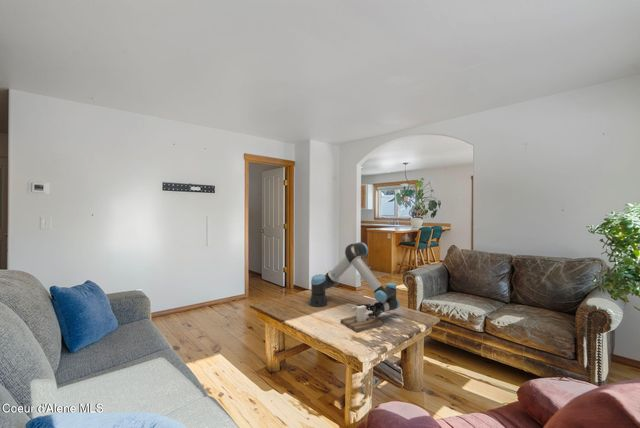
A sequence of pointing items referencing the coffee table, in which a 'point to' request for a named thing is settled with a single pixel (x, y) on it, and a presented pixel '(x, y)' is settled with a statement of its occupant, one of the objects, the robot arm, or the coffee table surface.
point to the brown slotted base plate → (358, 327)
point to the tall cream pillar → (361, 314)
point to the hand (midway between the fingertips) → (357, 312)
